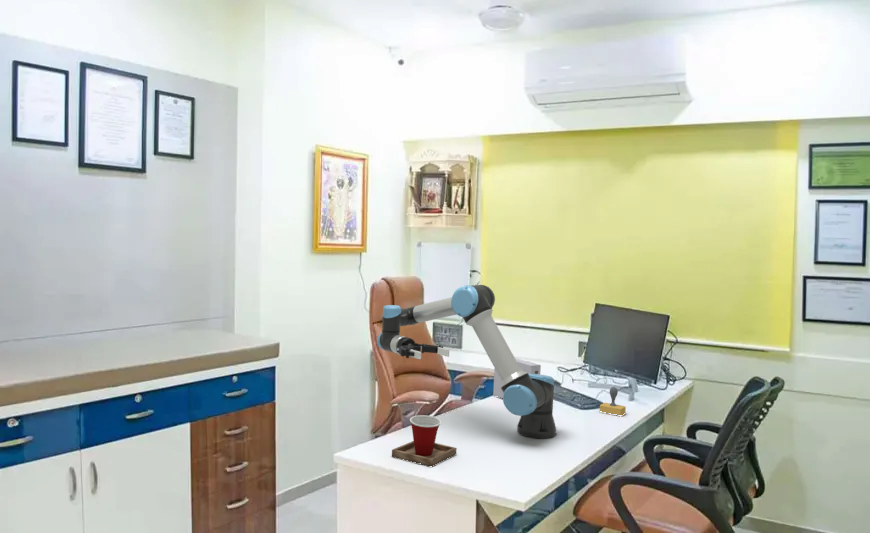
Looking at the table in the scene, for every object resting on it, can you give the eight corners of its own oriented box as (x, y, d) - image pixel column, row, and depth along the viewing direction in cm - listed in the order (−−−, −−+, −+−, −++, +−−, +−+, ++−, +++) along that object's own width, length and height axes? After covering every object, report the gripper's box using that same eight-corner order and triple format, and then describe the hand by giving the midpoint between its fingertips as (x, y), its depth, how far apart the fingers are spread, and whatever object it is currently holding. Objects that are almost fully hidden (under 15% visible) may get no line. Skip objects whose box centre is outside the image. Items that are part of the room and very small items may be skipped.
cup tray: (456, 454, 229) (456, 447, 229) (431, 467, 216) (431, 459, 216) (418, 445, 238) (418, 438, 238) (391, 456, 224) (391, 449, 224)
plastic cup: (416, 460, 219) (417, 425, 219) (403, 450, 229) (404, 416, 229) (445, 457, 224) (446, 422, 224) (431, 447, 234) (432, 414, 233)
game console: (502, 395, 321) (504, 354, 321) (539, 408, 298) (541, 364, 297) (493, 396, 318) (494, 355, 318) (529, 409, 295) (531, 365, 294)
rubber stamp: (625, 414, 294) (626, 387, 294) (621, 417, 289) (622, 389, 289) (604, 410, 300) (605, 384, 299) (599, 412, 295) (600, 386, 295)
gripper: (427, 352, 279) (459, 361, 262) (377, 357, 264) (407, 366, 247) (428, 335, 279) (460, 342, 262) (378, 338, 264) (408, 346, 247)
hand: (434, 354), depth 255 cm, fingers open, 13 cm apart
